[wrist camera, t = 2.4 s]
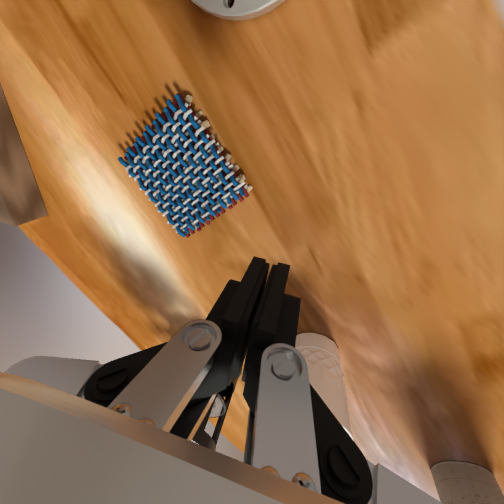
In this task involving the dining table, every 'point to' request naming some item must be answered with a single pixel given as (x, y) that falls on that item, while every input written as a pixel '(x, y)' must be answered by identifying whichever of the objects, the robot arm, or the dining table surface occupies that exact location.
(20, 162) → the bar
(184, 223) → the woven mat
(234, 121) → the dining table surface
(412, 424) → the dining table surface
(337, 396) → the white cup
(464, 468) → the thermos bottle
